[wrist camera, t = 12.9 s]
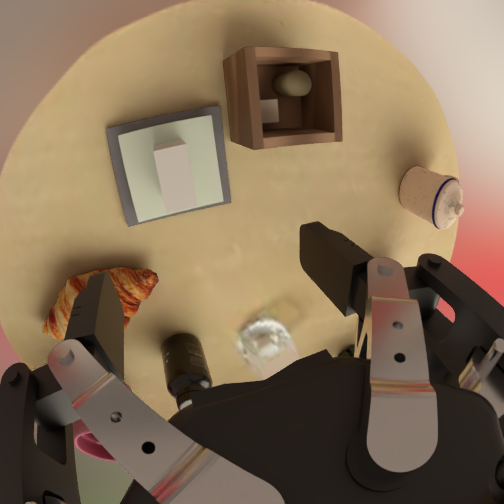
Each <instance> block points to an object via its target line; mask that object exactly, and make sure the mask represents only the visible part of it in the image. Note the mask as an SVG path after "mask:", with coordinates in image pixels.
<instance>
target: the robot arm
mask: <svg viewBox="0 0 504 504" xmlns="http://www.w3.org/2000/svg"><path fill="white" fill-rule="evenodd" d="M300 262H301V266H302V268H303V270H304V271H305V272H306V273H307V275H308V276H309V277H310V278H311V279H312V280H313V281H314V282H315V283H316V284H317V286H318V287H319V288H320V289H321V290H322V291H323V292H324V293H325V295H326V296H327V297H328V298H329V299H330V300H331V301H332V302H333V304H334V305H335V306H336V307H337V308H338V309H339V310H340V311H341V313H342V314H343V315H344V316H345V317H347V316H349V315H351V314H354V313H357V314H358V318H357V326H356V340H355V352H354V357H333V358H332V356H331V355H330V354H329V352H328V351H327V349H325V350H323V351H320V352H318V353H315V354H313V355H310V356H307V357H305V358H302V359H299V360H297V361H295V362H293V363H292V364H290V365H289V366H287V367H286V368H284V369H282V370H281V371H279V372H277V373H276V374H274V375H273V376H271V377H269V378H268V379H266V380H262V381H254V382H243V383H230V384H223V385H219V386H215V387H212V388H208V389H204V390H200V391H196V392H192V393H190V397H191V401H192V404H190V405H188V406H186V407H184V408H183V409H181V410H180V411H178V412H177V413H176V414H175V415H173V416H172V417H171V418H170V419H169V420H168V421H166V420H165V419H164V418H162V417H161V416H160V415H159V414H157V413H156V412H155V411H154V410H152V409H151V408H150V407H149V406H148V405H147V404H145V403H144V402H143V401H142V400H141V399H140V398H138V397H137V396H136V395H135V394H134V393H133V392H132V391H131V390H130V389H128V388H127V387H126V386H125V385H124V384H123V383H122V382H121V381H124V310H123V306H122V303H121V301H120V298H119V296H118V294H117V291H116V289H115V286H114V284H113V281H112V279H111V277H110V274H109V273H108V272H107V271H104V272H100V273H97V274H93V275H90V276H89V279H88V282H87V286H86V289H84V290H81V291H80V293H79V294H78V295H77V297H76V298H75V300H74V303H73V307H72V310H71V314H70V318H69V322H68V326H67V330H66V334H65V338H64V341H62V342H60V343H59V344H57V345H56V346H55V347H54V348H53V349H52V351H51V352H50V354H49V356H48V364H46V365H44V366H42V367H40V368H38V369H36V370H34V371H31V370H30V369H29V368H28V366H27V365H26V364H24V363H15V364H13V365H12V366H10V367H9V368H8V369H7V370H6V371H5V373H4V374H3V376H2V380H1V383H0V504H81V502H80V496H79V490H78V483H77V475H76V467H75V455H74V439H73V422H75V421H77V420H79V419H81V420H82V421H83V422H84V424H85V425H86V426H87V427H88V429H89V430H90V431H91V432H92V434H93V435H94V436H95V437H96V438H97V440H98V441H99V442H100V443H101V444H102V445H103V447H104V448H105V449H106V450H107V451H108V452H109V453H110V454H111V455H112V456H113V458H114V459H115V460H116V461H117V462H118V463H119V464H120V465H121V466H122V467H123V468H124V469H125V470H126V471H127V472H128V473H129V474H130V475H131V476H132V477H133V478H134V480H133V482H132V483H131V485H130V487H129V488H128V490H127V492H126V494H125V496H124V497H123V499H122V501H121V502H120V504H504V307H503V306H502V305H501V304H499V303H498V302H497V301H496V300H495V299H494V298H493V297H491V296H490V295H489V294H488V293H487V292H486V291H484V290H483V289H482V288H481V287H480V286H478V285H477V284H476V283H475V282H474V281H472V280H471V279H470V278H469V277H467V276H466V275H465V274H464V273H462V272H461V271H460V270H459V269H457V268H456V267H454V266H453V265H452V264H451V263H449V262H448V261H447V260H445V259H444V258H442V257H441V256H438V255H435V254H428V253H427V254H422V255H421V256H420V257H419V258H418V262H417V266H415V267H405V268H403V266H402V265H401V264H400V263H399V262H397V261H395V260H393V259H390V258H386V257H378V258H373V257H372V256H371V255H369V254H368V253H367V252H366V251H364V250H363V249H362V248H360V247H359V246H358V245H355V243H354V242H352V241H351V240H349V239H348V238H347V237H346V236H344V235H343V234H341V233H339V232H336V231H333V230H330V229H328V228H327V227H326V226H324V225H323V224H322V223H320V222H318V221H317V222H312V223H308V224H303V225H301V227H300ZM440 297H441V298H442V299H443V300H445V301H446V302H447V303H448V304H449V305H450V306H451V307H452V308H453V310H454V312H455V321H454V323H452V322H451V321H450V320H449V319H448V318H446V317H445V316H444V315H443V314H442V313H441V312H440V311H439V310H438V309H436V307H437V304H438V302H439V299H440ZM34 421H35V422H36V423H37V424H38V427H37V445H36V443H35V441H34Z"/></svg>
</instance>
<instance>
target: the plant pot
mask: <svg viewBox="0 0 504 504" xmlns="http://www.w3.org/2000/svg"><path fill="white" fill-rule="evenodd" d="M122 383H123V382H122ZM123 384H124V383H123ZM124 385H125V386H126V387H127V388H128V389H130V388H129V387H128V386H127V385H126V384H124ZM130 390H131V389H130ZM73 439H74V444H75V446H76V447H77V448H78V449H79V450H80V451H82V452H83V453H85V454H87V455H89V456H92V457H95V458H98V459H103V460H108V461H116V460H115V459H114V458H113V456H112V455H111V454H110V453H109V452H108V451H107V450H106V449H105V448H104V447H103V445H102V444H101V443H100V442H99V441H98V440H97V438H96V437H95V436H94V435H93V434H92V432H91V431H90V430H89V429H88V427H87V426H86V425H85V424H84V422H83V421H82V420H81V419H79V420H77V421H75V422H73Z"/></svg>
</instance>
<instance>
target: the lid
mask: <svg viewBox="0 0 504 504" xmlns="http://www.w3.org/2000/svg"><path fill="white" fill-rule="evenodd" d="M118 139H119V144H120V149H121V154H122V158H123V163H124V167H125V172H126V176H127V180H128V184H129V188H130V192H131V196H132V200H133V204H134V208H135V211H136V215H137V219H138V222H143V221H146V220H150V219H154V218H158V217H161V216H165V215H169V214H173V213H177V212H181V211H185V210H189V209H193V208H197V207H202V206H206V205H210V204H214V203H219V202H223V194H222V187H221V180H220V174H219V167H218V160H217V153H216V145H215V138H214V131H213V124H212V116H211V115H207V116H201V117H196V118H190V119H185V120H180V121H175V122H170V123H166V124H161V125H157V126H152V127H148V128H144V129H140V130H136V131H133V132H129V133H125V134H122V135H119V136H118Z"/></svg>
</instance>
